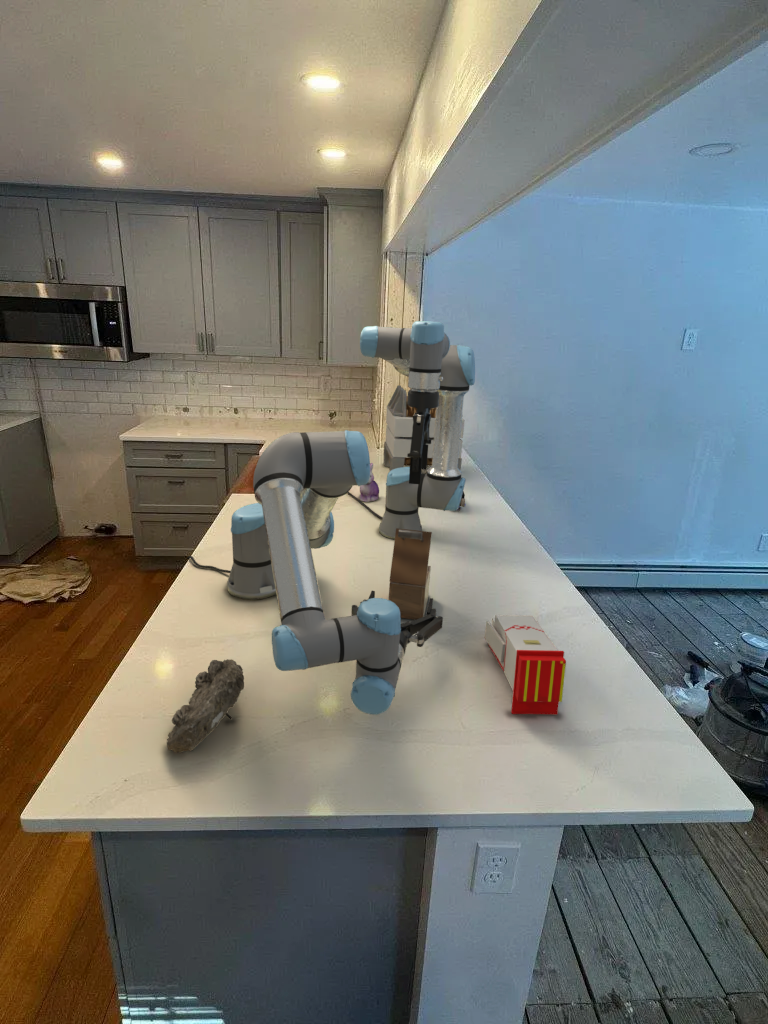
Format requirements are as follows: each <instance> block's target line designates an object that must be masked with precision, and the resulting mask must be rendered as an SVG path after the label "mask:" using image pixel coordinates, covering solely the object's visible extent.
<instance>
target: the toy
mask: <svg viewBox="0 0 768 1024" xmlns="http://www.w3.org/2000/svg"><path fill="white" fill-rule="evenodd" d="M494 615H495V616H494V617H491V622H490V620H485V621H486V622H485V630H484V640H485V641H486V642H487V646H488V647H489V649H490V651H491V652H492V654H493V656H494V657H495V659H496V661H497V663H498V665H499V667H500V668H501V670H502V671H503V674H504V676H505V678H506V680H507V682H508V684H509V686H510V689H511V690H512V701H511V712H510V713H511V714H512V715H556V716H558V715H559V714H558V713H559V705H560V703H562V702H563V695H564V694H563V693H564V686H565V685H564V683H565V677H566V676H565V675H566V667H567V666H566V665H567V660H566V658H564V656H565V651H564V650H559V649H558V648H557V646H556V645H555V644H554V642H553V641H552V640H551V638H550V637H549V636H548V634H547V633H546V631H544V629H543V628H542V626H541V625H540V623H539V622H538V620H536V618H535V617H534V615H531V614H530V615H527V614H526V615H523V614H519V615H518V614H494Z"/></svg>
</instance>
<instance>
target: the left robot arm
mask: <svg viewBox="0 0 768 1024" xmlns="http://www.w3.org/2000/svg"><path fill="white" fill-rule="evenodd" d="M370 459H371V457H370V452H369V446H368V442H367V439H366V437H365V435H364V434H363V433H362V432H361V431H358V430H348V429H345V430H341V431H338V430H337V431H305V432H296V431H295V432H294V431H293V432H289V433H288V432H287V433H285V434H283V435H281V436H278V437H277V438H275V439H274V440H272V442H270V444H268V445H267V446H266V448H265V449H264V450H263V451H262V453H261V455H260V456H259V458H258V460H257V463H256V466H255V469H254V472H253V481H252V483H253V485H252V487H253V492H254V493H253V494H254V499H255V501H256V502H255V503H254V502H253V503H250V504H246V505H244V506H241V507H239V508H238V509H236V510H234V512H233V513H232V515H231V519H230V520H231V524H230V533H231V541H232V544H231V545H232V565H231V568H230V570H228V569H222V568H218V567H216V566H213V565H205V564H204V565H203V564H200V563H198V561H196V559H195V558H194V557H193V556H192V555H188V556H187V557H186V559H187V560H190V559H191V561H192V563H193V564H194V565H195V566H196V567H198V568H201V569H210V570H211V569H212V570H215V571H217V572H220V573H226V574H229V575H228V579H227V582H226V584H227V591H228V593H229V594H230V595H231V596H233V597H235V598H238V599H243V600H250V601H251V600H252V601H253V600H263V599H267V598H271V597H273V596H276V600H277V605H278V606H277V607H278V613H279V618H280V623H281V624H280V625H279V626H275V627H273V628H272V630H271V648H272V657H273V662H274V664H275V667H276V668H277V669H278V671H281V672H290V671H300V670H302V671H305V670H307V669H312V668H316V667H317V668H318V667H323V666H327V665H332V664H339V663H347V662H352V661H356V663H355V677H354V679H353V681H352V683H351V691H350V699H351V702H352V704H353V705H354V707H355V708H356V709H357V710H359V711H360V712H362V713H364V714H367V715H373V716H374V715H375V716H377V715H381V714H384V713H385V712H386V711H388V710H389V709H390V707H391V705H392V702H393V700H394V698H395V696H396V690H397V684H398V680H399V676H400V673H401V669H402V665H403V661H404V657H405V654H406V650H407V646H408V644H410V643H415V644H416V647H417V648H422V647H423V646H424V644H425V642H426V641H427V640H429V639H430V638H431V637H432V636H434V635H435V634H436V633H437V632H439V631H440V630H442V628H443V623H444V622H443V621H444V617H443V616H441V615H439V616H436V615H437V609H436V608H433V602H434V598H432V597H429V598H428V603H427V604H428V605H427V607H426V615H424V617H422V618H419V619H417V620H412V621H409V620H408V621H405V622H402V621H401V620H402V618H401V617H400V610H399V607H398V606H397V605H396V604H395V603H393V602H392V601H390V600H389V599H387V598H383V597H376V591H375V590H371V591H370V594H369V596H368V598H367V599H363V600H362V601H360V602H359V605H357V604H352V605H351V615H347V616H342V617H333V618H326V616H325V610H324V604H323V600H322V595H321V590H320V585H319V581H318V576H317V571H316V567H315V566H316V565H315V562H314V557H313V553H312V549H320V548H325V547H328V546H329V545H330V544H331V543H332V541H333V538H334V533H335V520H334V514H333V512H332V510H333V509H334V507H335V505H336V503H337V502H338V500H339V498H341V497H343V496H345V495H346V494H348V492H350V491H351V489H352V488H353V487H354V486H358V487H360V486H361V485H365V484H367V483H368V481H369V478H370V464H371V460H370Z"/></svg>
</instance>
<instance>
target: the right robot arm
mask: <svg viewBox="0 0 768 1024" xmlns="http://www.w3.org/2000/svg"><path fill="white" fill-rule="evenodd" d="M359 349H360V352H361V355H362V356H364V357H368V358H372V359H374V358H377V359H381V360H384V361H385V362H387V363H389V364H391V365H392V366H393V368H394V369H395V370H396V372H398V373H399V374H401V375H403V376H405V377H407V378H408V379H407V381H408V382H407V387H408V388H409V390H408V391H407V396H408V399H407V404H408V406H410V407H415V408H417V411H416V413H415V414H414V415H413V431H412V440H411V448H410V453H408V455H407V457H410V466H404V467H401V468H396V469H393V470H391V471H390V470H389V472H388V473H387V475H386V482H385V504H384V505H385V507H384V508H385V509H384V513H383V515H382V516H381V515H380V514H378V513H376V512H375V511H374V510H373V509H371V508H370V507H369V506H368V505H367V504H366V503H365V502H364V501H361V500H360V498H359V497H357V496H356V495H354V494H353V493H351V492H350V491H349V492H348V493H347V495H349V496H350V497H352V498H353V499H354V500H355V501H357V502H358V503H360V504H361V505H362V506H363V507H364V508H365V509H367V511H369V512H370V513H371V514H372V515H374V516H375V517H377V518H379V519H380V520H381V522H379V527H378V533H379V534H380V535H381V536H382V537H385V538H387V539H389V540H395V534H396V528H399V529H408V530H417V531H423V525H422V524H421V518H420V515H419V508H422V509H430V510H431V509H432V510H439V511H443V512H445V511H447V512H456V511H457V510H459V509H458V507H459V505H460V501H461V498H462V494H463V491H464V489H465V484H466V478H465V477H462V470H461V471H460V470H459V469H458V456H459V445H460V439H461V438H460V433H461V422H462V419H463V410H464V409H463V408H464V399H465V395H466V394H467V393H468V392H470V387H471V386H474V385H475V382H476V360H475V358H476V357H475V353H474V350H473V348H472V347H470V346H466V345H465V346H464V345H459V344H451V341H450V337H449V336H448V334H447V333H446V332H445V325H444V323H443V322H440V321H426V320H425V321H424V320H422V321H421V320H420V321H419V320H415V321H413V322H412V325H411V328H410V327H390V326H378V325H373V326H369V325H368V326H367V325H366V326H364V327H363V328H362V330H361V332H360V338H359ZM432 408H436V416H435V430H434V444H433V457H432V465H430V466H429V467H428V466H427V457H428V445H426V444H431V440H429V439H430V437H429V428H430V420H431V414H430V409H432ZM414 451H417V452H414ZM423 470H426V473H422V471H423Z"/></svg>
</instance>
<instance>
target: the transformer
mask: <svg viewBox="0 0 768 1024" xmlns="http://www.w3.org/2000/svg"><path fill="white" fill-rule="evenodd" d="M407 399H408V392H407V390H406V389H404V388H403V387H402V385H399V384H398V385H397V386H396V388H395V390H394V392H393V394H392V395H391V398H390V400H389V402H388V404H387V405H386V413H385V414H386V415H385V423H386V428H385V438H384V442H383V466H384V467H388V468H389V472H390V471H391V470H393V469H396V468H401V467H405V466H406V467H410V457H407V455H408V453H410V448H411V440H412V431H413V415H414V414H415V413H416V411H417V408H415V407H410V406H408V404H407ZM430 414H431V420H430V428H429V437H430V439H429V440H431V444H426V445H428V457H427V467H431V466H432V457H433V444H434V430H435V416H436V408H432V409H430ZM464 429H465V419H464V418H462V422H461V433H460V445H459V456H458V469H459V470H460V471H461V472H462V461H463V460H462V453H463V442H464V441H463V440H462V439H463V438H464V431H465V430H464ZM414 452H417V451H414Z"/></svg>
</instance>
